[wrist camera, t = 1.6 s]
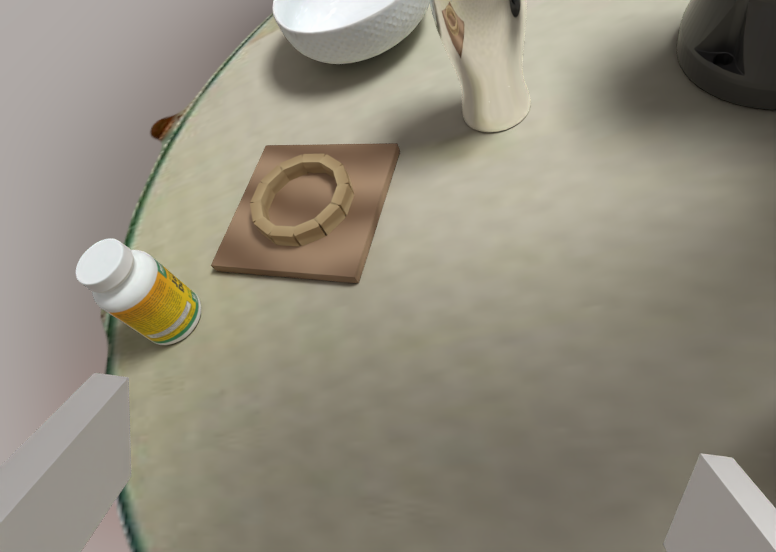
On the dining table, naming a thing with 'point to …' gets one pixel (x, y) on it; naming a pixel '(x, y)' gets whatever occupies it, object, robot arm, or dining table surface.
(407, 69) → the dining table surface
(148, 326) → the supplement bottle
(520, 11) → the silver metal tumbler
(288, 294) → the dining table surface
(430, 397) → the dining table surface
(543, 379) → the dining table surface
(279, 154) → the collar stand
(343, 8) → the cereal bowl
